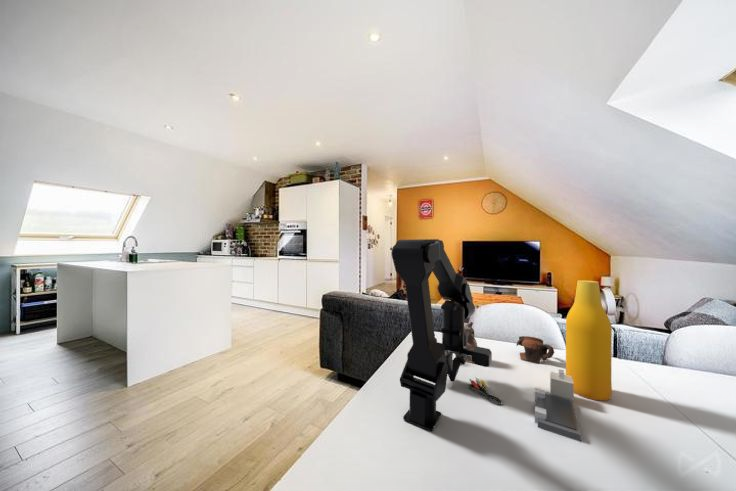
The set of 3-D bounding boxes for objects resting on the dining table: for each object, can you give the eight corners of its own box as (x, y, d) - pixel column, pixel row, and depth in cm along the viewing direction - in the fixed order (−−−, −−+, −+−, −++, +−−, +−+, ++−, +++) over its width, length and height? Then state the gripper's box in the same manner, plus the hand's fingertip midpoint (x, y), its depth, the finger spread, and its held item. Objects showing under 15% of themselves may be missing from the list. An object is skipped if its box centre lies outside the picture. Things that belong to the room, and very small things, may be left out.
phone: (581, 441, 49) (581, 429, 49) (534, 426, 54) (534, 414, 54) (572, 405, 61) (572, 394, 61) (535, 394, 65) (535, 385, 65)
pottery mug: (510, 358, 88) (510, 334, 92) (525, 365, 92) (525, 342, 96) (548, 362, 79) (547, 335, 82) (564, 370, 82) (562, 344, 86)
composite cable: (504, 406, 61) (505, 396, 61) (486, 408, 60) (486, 397, 60) (480, 384, 70) (480, 375, 70) (464, 385, 70) (464, 376, 70)
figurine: (451, 355, 89) (451, 321, 89) (466, 352, 92) (466, 319, 92) (467, 364, 82) (467, 327, 82) (483, 360, 85) (483, 324, 85)
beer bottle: (562, 378, 74) (563, 278, 74) (605, 388, 69) (606, 280, 69) (568, 394, 66) (568, 281, 66) (617, 406, 61) (617, 284, 61)
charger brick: (573, 404, 61) (573, 377, 61) (550, 398, 64) (551, 371, 64) (571, 396, 65) (571, 369, 65) (550, 390, 67) (550, 365, 67)
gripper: (494, 322, 72) (494, 378, 71) (430, 312, 82) (429, 361, 82) (488, 333, 62) (488, 397, 62) (416, 320, 72) (416, 376, 72)
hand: (452, 381), depth 70 cm, fingers closed
